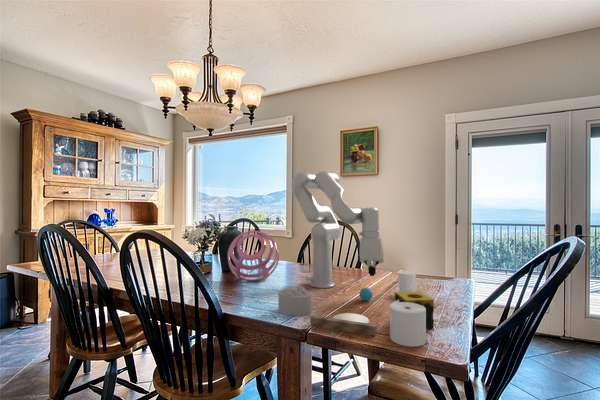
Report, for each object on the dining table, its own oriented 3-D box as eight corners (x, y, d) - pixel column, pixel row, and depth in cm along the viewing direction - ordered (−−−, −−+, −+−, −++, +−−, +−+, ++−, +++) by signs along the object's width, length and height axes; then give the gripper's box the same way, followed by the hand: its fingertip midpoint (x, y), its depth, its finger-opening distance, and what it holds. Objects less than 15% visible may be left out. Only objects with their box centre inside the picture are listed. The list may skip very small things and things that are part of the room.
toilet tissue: (412, 350, 94) (411, 315, 94) (379, 336, 104) (379, 304, 104) (433, 341, 100) (433, 308, 100) (400, 328, 110) (400, 298, 110)
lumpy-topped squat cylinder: (292, 304, 137) (292, 283, 137) (317, 311, 128) (317, 289, 128) (274, 311, 129) (274, 288, 129) (299, 318, 120) (299, 294, 120)
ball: (358, 301, 140) (358, 288, 140) (361, 298, 145) (361, 285, 145) (371, 303, 138) (371, 290, 138) (373, 299, 143) (373, 286, 143)
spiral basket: (242, 239, 202) (235, 216, 180) (285, 250, 198) (285, 228, 176) (224, 281, 187) (214, 262, 164) (270, 295, 183) (268, 277, 161)
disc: (327, 323, 115) (327, 322, 115) (338, 311, 127) (338, 311, 127) (364, 329, 110) (364, 328, 110) (372, 316, 122) (372, 316, 122)
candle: (393, 319, 119) (393, 291, 119) (420, 318, 120) (420, 291, 120) (405, 330, 109) (404, 300, 109) (434, 329, 110) (434, 299, 110)
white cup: (417, 297, 146) (417, 274, 146) (398, 296, 148) (398, 273, 148) (414, 292, 154) (414, 270, 154) (397, 291, 155) (397, 270, 155)
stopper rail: (310, 326, 113) (310, 317, 113) (312, 324, 115) (312, 315, 115) (375, 336, 104) (375, 326, 104) (376, 334, 106) (376, 324, 106)
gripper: (352, 235, 149) (354, 276, 149) (386, 235, 143) (387, 278, 143) (356, 234, 156) (358, 273, 156) (388, 234, 150) (390, 274, 150)
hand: (372, 275), depth 149 cm, fingers closed
